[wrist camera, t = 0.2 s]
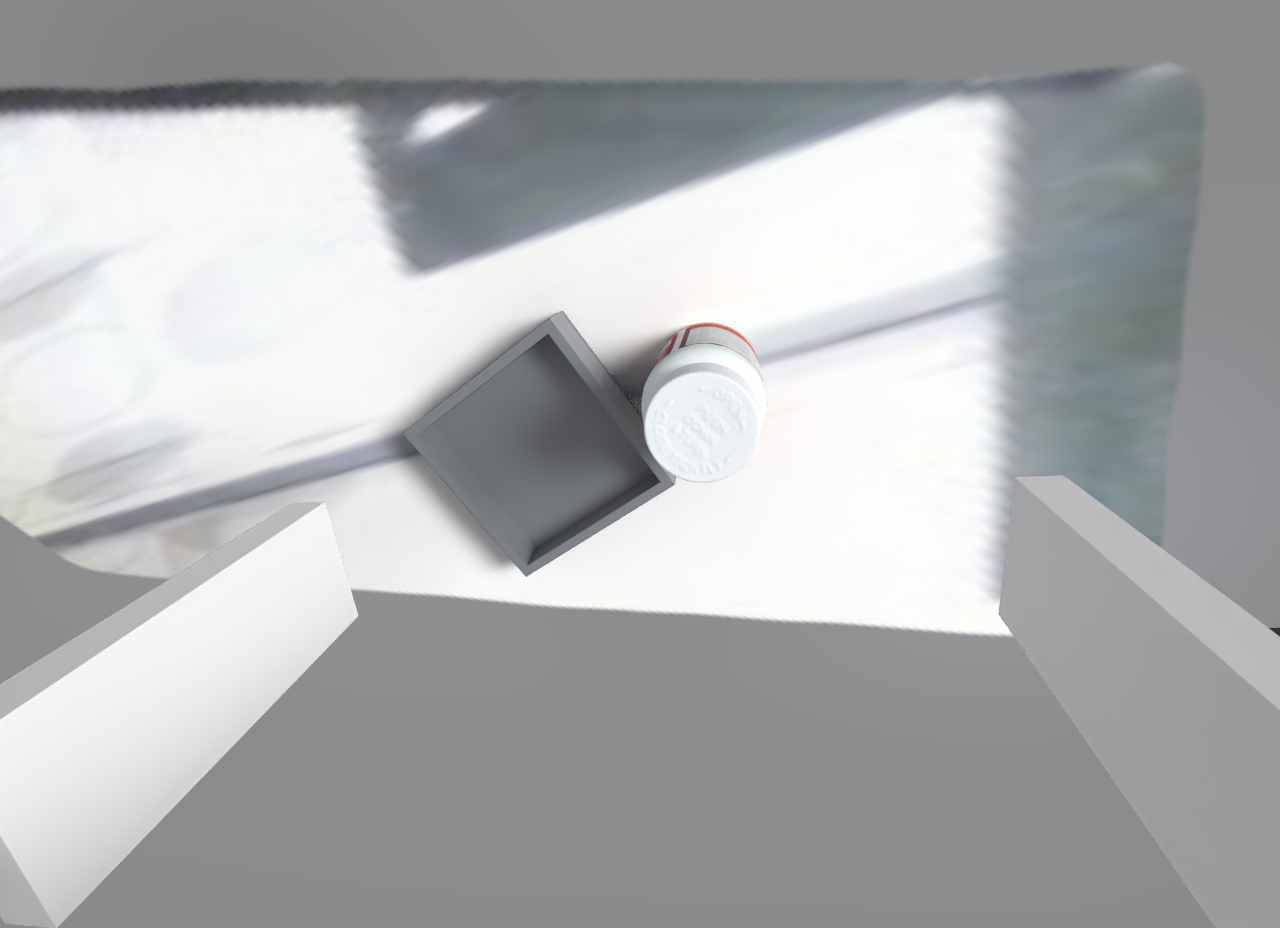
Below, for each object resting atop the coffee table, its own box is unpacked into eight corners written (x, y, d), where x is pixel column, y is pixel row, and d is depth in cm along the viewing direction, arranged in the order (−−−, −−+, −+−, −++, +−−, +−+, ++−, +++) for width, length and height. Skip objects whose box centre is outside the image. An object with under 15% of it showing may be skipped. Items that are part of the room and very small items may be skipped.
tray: (424, 418, 41) (402, 433, 38) (562, 310, 37) (549, 318, 34) (538, 554, 44) (526, 576, 41) (678, 466, 40) (674, 484, 37)
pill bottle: (682, 435, 39) (666, 514, 29) (640, 346, 37) (606, 396, 27) (775, 396, 38) (794, 465, 27) (735, 302, 36) (739, 336, 25)
